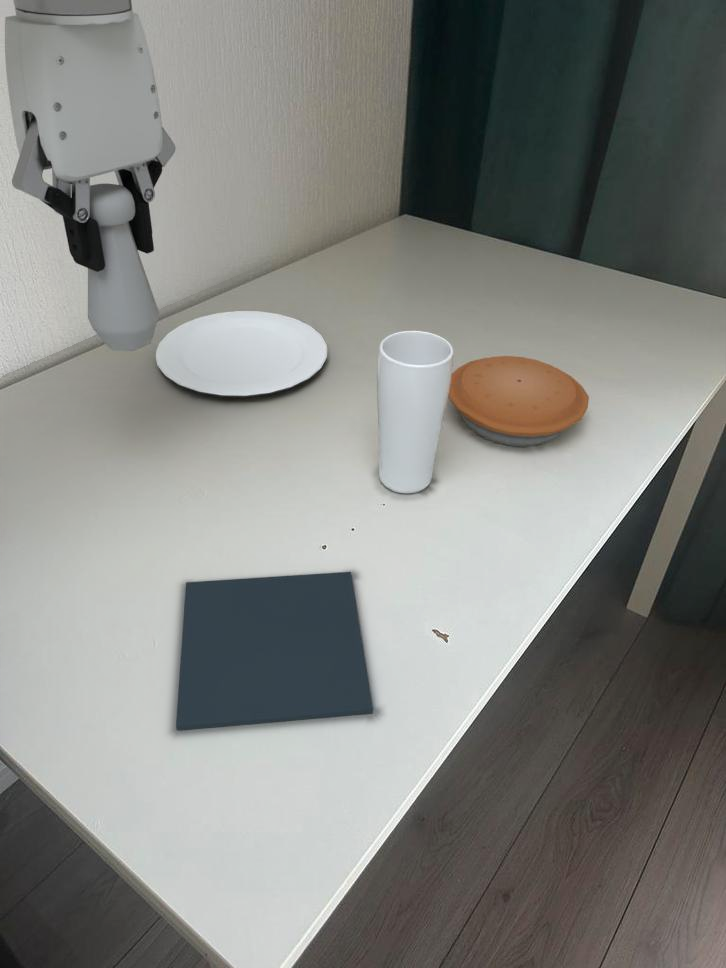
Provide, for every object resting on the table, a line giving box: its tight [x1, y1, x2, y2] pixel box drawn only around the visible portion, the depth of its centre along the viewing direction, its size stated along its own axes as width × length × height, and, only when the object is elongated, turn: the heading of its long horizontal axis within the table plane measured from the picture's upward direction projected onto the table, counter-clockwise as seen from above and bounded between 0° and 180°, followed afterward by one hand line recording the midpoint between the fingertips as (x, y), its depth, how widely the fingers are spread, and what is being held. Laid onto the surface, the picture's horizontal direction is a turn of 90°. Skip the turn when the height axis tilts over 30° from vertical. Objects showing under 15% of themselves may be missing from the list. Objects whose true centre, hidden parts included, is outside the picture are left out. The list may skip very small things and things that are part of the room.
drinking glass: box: [376, 330, 454, 494], centre depth 73 cm, size 7×7×15 cm
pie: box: [448, 355, 590, 448], centre depth 86 cm, size 15×16×5 cm
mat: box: [175, 571, 374, 731], centre depth 61 cm, size 14×14×1 cm
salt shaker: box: [87, 183, 160, 352], centre depth 63 cm, size 6×6×13 cm
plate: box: [155, 310, 328, 398], centre depth 95 cm, size 21×21×2 cm
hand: (114, 255), depth 63 cm, fingers closed on salt shaker, 4 cm apart
